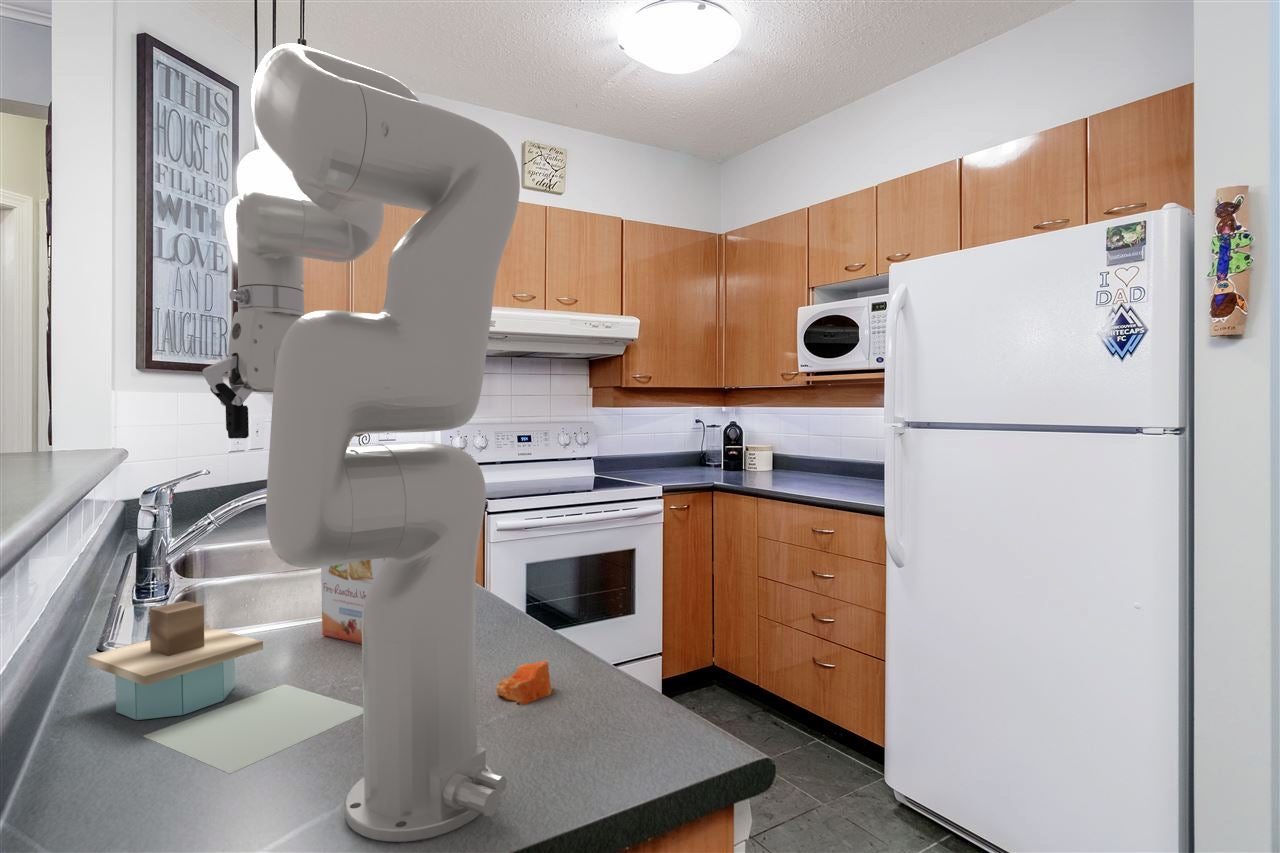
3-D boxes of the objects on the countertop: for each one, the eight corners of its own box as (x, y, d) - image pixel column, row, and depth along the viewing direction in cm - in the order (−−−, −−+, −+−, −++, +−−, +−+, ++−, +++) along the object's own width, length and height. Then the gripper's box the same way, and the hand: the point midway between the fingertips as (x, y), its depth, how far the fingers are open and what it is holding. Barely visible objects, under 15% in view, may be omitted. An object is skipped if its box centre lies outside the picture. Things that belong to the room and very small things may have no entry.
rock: (452, 710, 82) (451, 674, 82) (515, 674, 93) (514, 642, 93) (536, 729, 77) (535, 690, 76) (592, 688, 87) (591, 655, 87)
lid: (263, 649, 85) (262, 600, 85) (145, 685, 74) (143, 629, 74) (204, 633, 91) (203, 588, 91) (87, 664, 80) (86, 613, 80)
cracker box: (319, 637, 107) (317, 502, 106) (352, 626, 112) (350, 498, 112) (383, 651, 100) (381, 507, 100) (414, 639, 106) (413, 502, 105)
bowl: (250, 694, 85) (249, 650, 85) (151, 730, 75) (150, 680, 75) (200, 678, 90) (200, 636, 90) (102, 710, 81) (101, 663, 81)
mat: (370, 713, 79) (370, 710, 79) (230, 777, 65) (230, 773, 65) (284, 687, 87) (284, 684, 87) (142, 739, 73) (142, 735, 73)
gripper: (222, 291, 80) (225, 439, 80) (348, 311, 95) (350, 435, 95) (185, 298, 84) (188, 439, 84) (312, 316, 99) (314, 435, 99)
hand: (275, 437), depth 90 cm, fingers open, 9 cm apart
